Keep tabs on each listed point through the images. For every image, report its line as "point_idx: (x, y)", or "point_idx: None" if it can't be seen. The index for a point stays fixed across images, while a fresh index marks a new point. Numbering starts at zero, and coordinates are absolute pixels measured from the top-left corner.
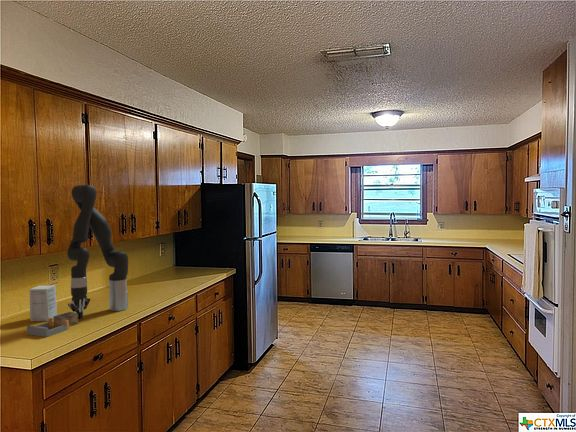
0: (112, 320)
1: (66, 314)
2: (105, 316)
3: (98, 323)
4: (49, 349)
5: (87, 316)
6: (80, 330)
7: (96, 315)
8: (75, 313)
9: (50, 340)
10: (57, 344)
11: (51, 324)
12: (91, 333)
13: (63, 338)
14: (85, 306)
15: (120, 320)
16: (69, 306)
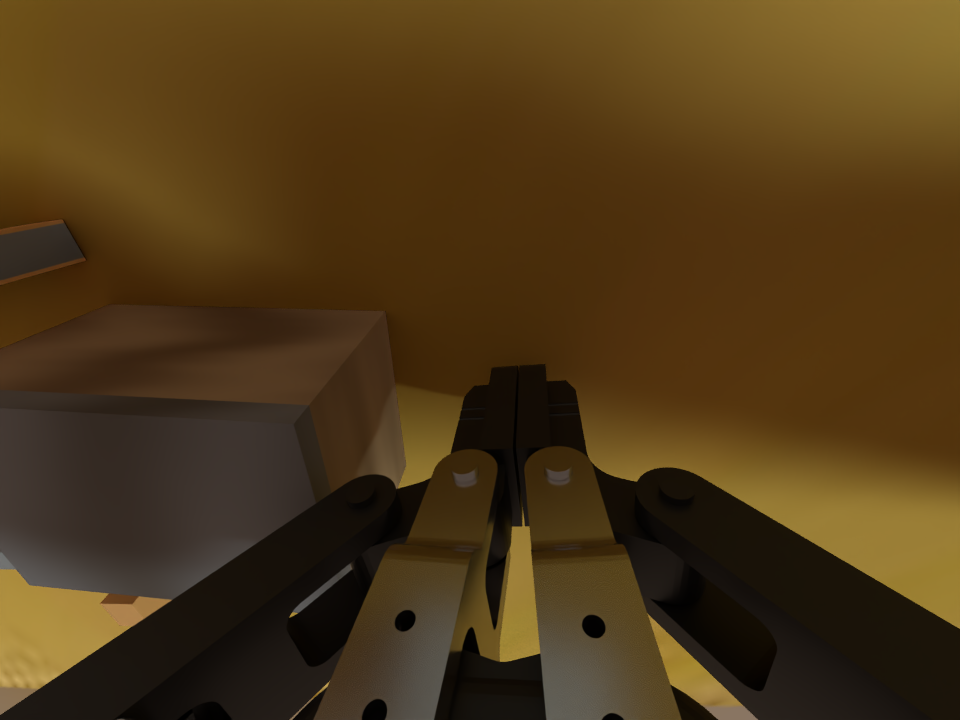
0: (683, 660)
1: (151, 513)
2: (856, 523)
3: (534, 617)
4: (3, 674)
5: (819, 268)
6: (294, 614)
7: (918, 369)
8: (312, 594)
9: (20, 590)
10: (56, 662)
11: (39, 272)
12: (313, 698)
13: (115, 628)
14: (688, 638)
15: (704, 704)
16: (95, 675)
